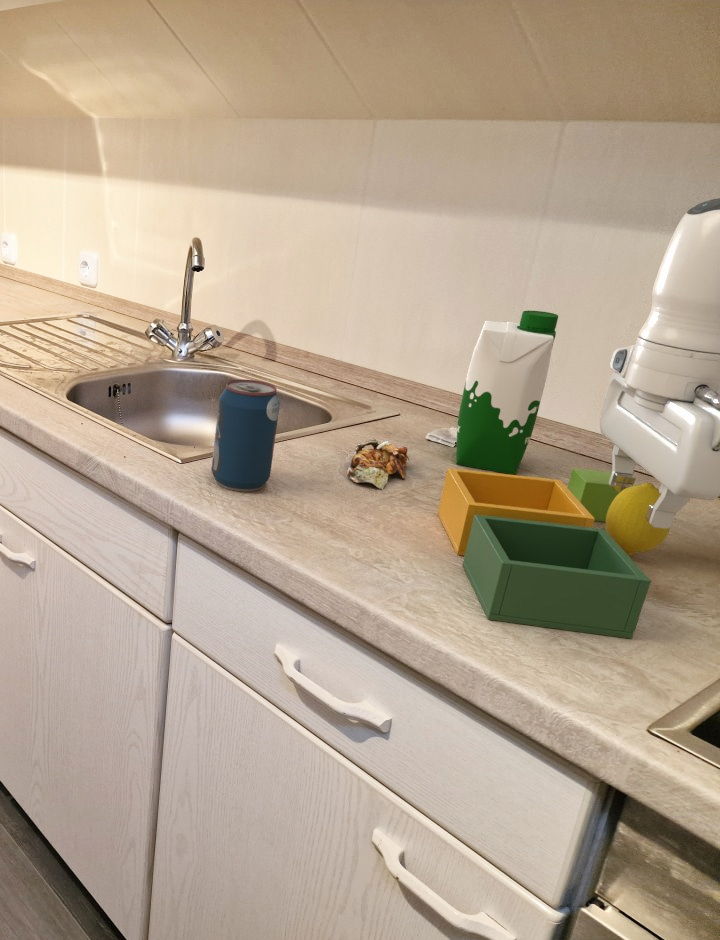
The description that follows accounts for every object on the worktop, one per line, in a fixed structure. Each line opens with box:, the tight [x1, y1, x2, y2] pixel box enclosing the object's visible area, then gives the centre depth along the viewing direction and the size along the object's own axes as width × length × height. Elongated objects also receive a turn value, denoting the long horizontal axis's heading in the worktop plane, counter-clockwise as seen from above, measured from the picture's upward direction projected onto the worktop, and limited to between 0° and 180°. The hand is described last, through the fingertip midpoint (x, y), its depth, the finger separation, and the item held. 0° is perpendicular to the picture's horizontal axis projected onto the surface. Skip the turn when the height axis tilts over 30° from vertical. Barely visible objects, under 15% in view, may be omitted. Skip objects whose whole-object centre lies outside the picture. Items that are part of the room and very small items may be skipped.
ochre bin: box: [437, 467, 595, 556], centre depth 89 cm, size 12×11×6 cm
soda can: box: [210, 379, 281, 493], centre depth 100 cm, size 7×7×12 cm
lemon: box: [605, 482, 671, 556], centre depth 87 cm, size 6×6×8 cm
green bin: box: [461, 514, 652, 640], centre depth 77 cm, size 12×11×6 cm
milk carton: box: [455, 310, 559, 475], centre depth 109 cm, size 9×9×20 cm
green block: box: [567, 467, 621, 523], centre depth 97 cm, size 4×4×4 cm
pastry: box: [346, 437, 410, 490], centre depth 107 cm, size 7×12×4 cm, turn 156°
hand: (637, 506), depth 86 cm, fingers open, 8 cm apart
